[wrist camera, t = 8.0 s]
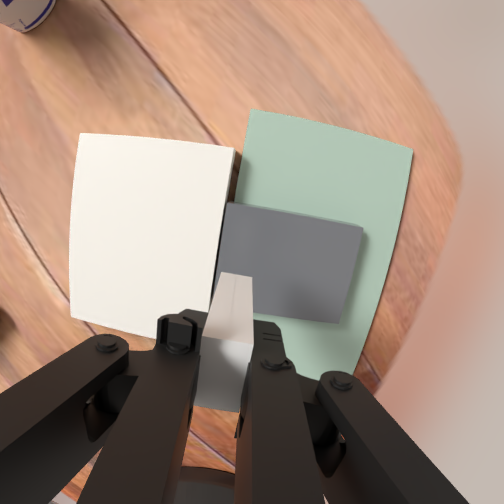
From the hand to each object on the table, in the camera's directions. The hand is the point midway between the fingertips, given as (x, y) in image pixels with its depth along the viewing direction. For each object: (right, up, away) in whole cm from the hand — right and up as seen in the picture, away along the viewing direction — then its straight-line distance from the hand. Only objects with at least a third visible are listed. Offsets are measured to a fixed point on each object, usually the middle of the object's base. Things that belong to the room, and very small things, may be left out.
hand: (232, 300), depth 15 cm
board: (-7, +3, +7) cm, 10 cm away
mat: (+5, +1, +7) cm, 9 cm away
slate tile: (+3, +2, +7) cm, 8 cm away
